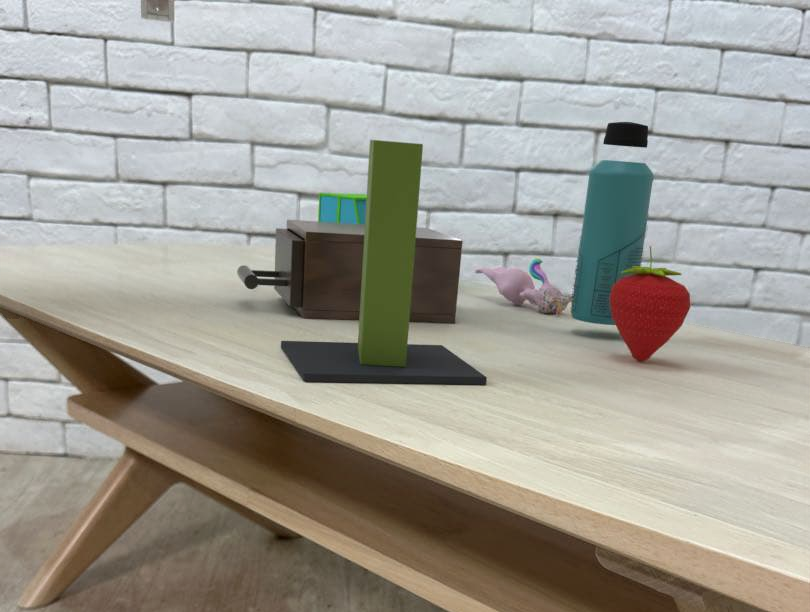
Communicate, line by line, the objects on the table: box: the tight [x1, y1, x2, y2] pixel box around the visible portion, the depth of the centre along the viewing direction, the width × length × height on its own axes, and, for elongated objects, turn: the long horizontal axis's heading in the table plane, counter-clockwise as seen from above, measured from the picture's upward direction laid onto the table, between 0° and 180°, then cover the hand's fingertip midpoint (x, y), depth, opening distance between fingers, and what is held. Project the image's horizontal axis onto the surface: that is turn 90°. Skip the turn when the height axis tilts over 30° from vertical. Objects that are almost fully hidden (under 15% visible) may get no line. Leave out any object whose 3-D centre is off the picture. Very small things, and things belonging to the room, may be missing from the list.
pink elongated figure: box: [474, 258, 573, 317], centre depth 115 cm, size 6×6×15 cm
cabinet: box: [285, 219, 464, 324], centre depth 103 cm, size 16×13×8 cm
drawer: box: [236, 228, 305, 308], centre depth 102 cm, size 19×11×6 cm, turn 105°
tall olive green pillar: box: [357, 139, 424, 367], centre depth 76 cm, size 4×6×16 cm, turn 5°
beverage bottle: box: [569, 121, 655, 326], centre depth 98 cm, size 6×7×20 cm
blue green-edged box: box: [317, 192, 367, 224], centre depth 124 cm, size 10×13×10 cm
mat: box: [280, 340, 488, 386], centre depth 79 cm, size 14×12×1 cm
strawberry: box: [609, 245, 691, 362], centre depth 87 cm, size 6×8×10 cm
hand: (157, 20), depth 90 cm, fingers closed
